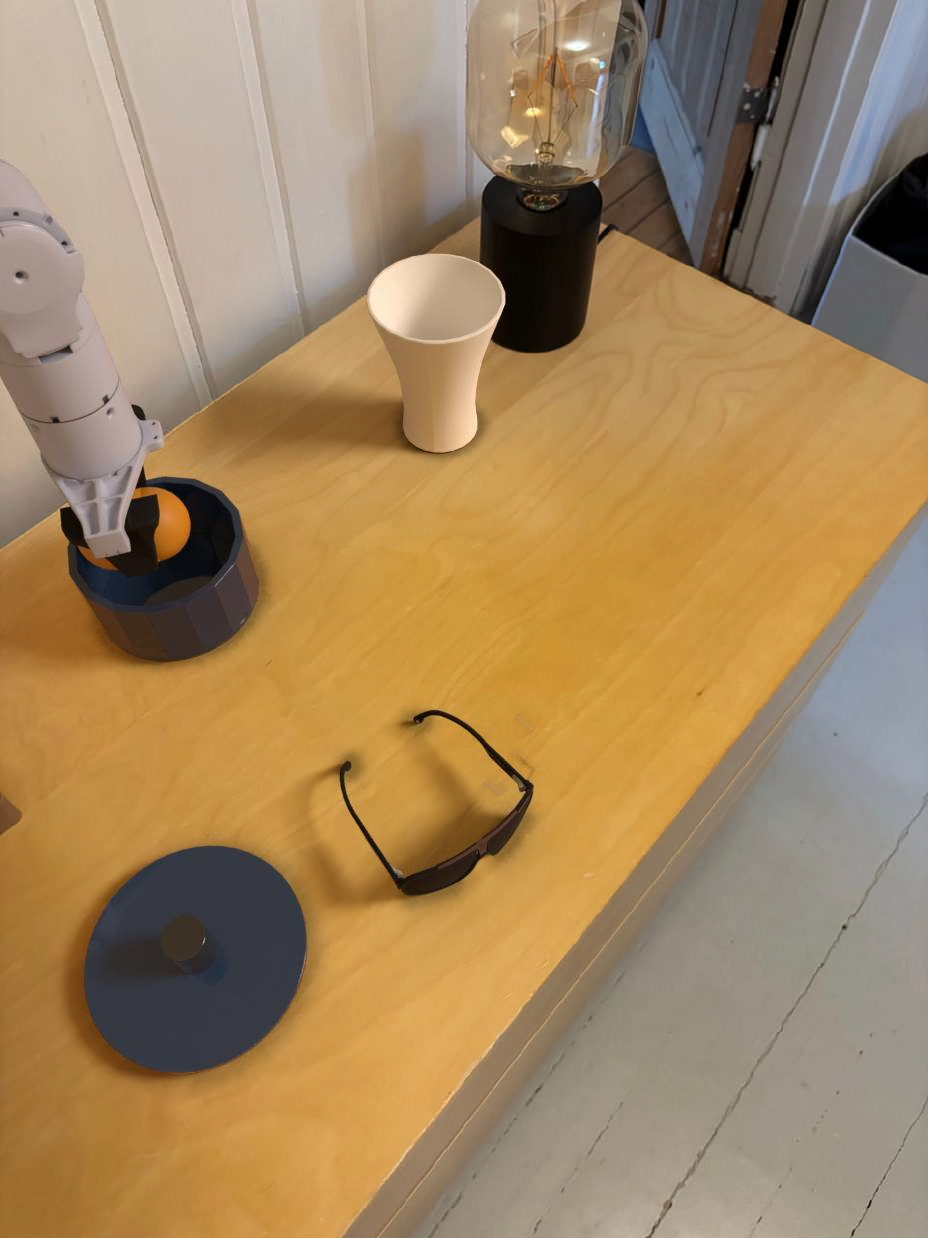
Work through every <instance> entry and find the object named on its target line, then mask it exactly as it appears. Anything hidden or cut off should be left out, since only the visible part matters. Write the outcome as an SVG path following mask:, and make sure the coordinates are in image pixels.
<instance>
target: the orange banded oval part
mask: <svg viewBox="0 0 928 1238" xmlns="http://www.w3.org/2000/svg"><path fill="white" fill-rule="evenodd" d="M154 494H157V497H158V503H159V510H160V518H159V525H158V527H157V529H156V531H155V535H154V540H155V545H156V551H157V557H158V562H160V561H163V560H166V559H169V558H171V557H173V556H174V555H176V554H177V553H178V552H179V551H180V550H181V549H182V548H183V547H184V545H185V544H186V542H187V540H188V538H189V534H190V518H189V514H188V511H187V509H186V507H185V506H184V504H183V503H182V502H181V501H180V499H179V498H178V497H176V496H175V495H174V494H172V493H171V492H168V491H166V490H164V489H160V488H157V487H143V488H138V489H135V490H134V493H133V496H132V499H135V498H140V497H144V496H149V495H154ZM78 548H79V550H80V551H81V553H82V554H83V555H84V556H85V558H86V559H87V560H89V561H90V562H91V563H93V564H94V565H96V566H99V567H101V568H104V569H108V570H118V569H117V568H116V567H115V566H113V565H112V564H111V563H110V562H109V561H108V560H107V559H105V558H99V559H95V557H94V555H93V553H92V552H91V550H90V549H87V548H84V547H81V546H78Z"/></svg>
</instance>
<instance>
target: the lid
mask: <svg viewBox="0 0 928 1238" xmlns="http://www.w3.org/2000/svg"><path fill="white" fill-rule="evenodd" d="M304 915H305V914H304V912H303V908H302V906H301V904H300V901H299V899H298V897H297V894H296V892H294V890H293V888H292V886H291V885H290V883H289V881H287V880H286V878H285V877H284V876H283V874H282V873H281V872H279V870H277V869H276V868H275V867H274V866H273V865H272V864H271V863H269V862H267V861H266V860H264V859H263V858H262V857H260V856H258V855H256V854H253V853H252V852H249V851H245V850H243V849H241V848H236V847H231V846H225V845H201V846H193V847H189V848H184V849H180V850H177V851H174V852H171V853H169V854H167V855H165V856H161V857H160V858H158V859H156V860H154V861H153V862H150V863H149V864H148V865H146V866H144V867H142V868H141V869H140V870H139V871H138V872H136V873H135V874H134V875H133V876H131V877H130V878H129V879H128V880H127V881H126V882H125V883H124V884H123V885H122V886H121V887H120V888H119V889H117V891H116V893H115V894H114V895H113V896H112V897H111V898H110V900H109V901H108V903H107V904H106V906H105V907H104V909H103V910H102V911H101V913H100V915H99V917H98V919H97V921H96V923H95V925H94V928H93V930H92V933H91V935H90V938H89V941H88V945H87V948H86V953H85V959H84V966H83V987H84V995H85V996H84V997H85V1001H86V1004H87V1009H88V1012H89V1015H90V1016H91V1019H92V1021H93V1023H94V1025H95V1027H96V1029H97V1030H98V1032H99V1033H100V1035H101V1036H102V1038H103V1039H104V1040H105V1041H106V1042H107V1044H108V1045H109V1046H110V1047H111V1048H112V1049H113V1050H114V1051H115V1052H117V1053H118V1054H119V1055H121V1056H122V1057H123V1058H125V1059H126V1060H128V1061H129V1062H132V1063H133V1064H135V1065H137V1066H139V1067H141V1068H144V1069H147V1070H150V1071H153V1072H158V1073H163V1074H169V1075H170V1074H174V1075H188V1074H197V1073H198V1074H199V1073H202V1072H206V1071H211V1070H215V1069H217V1068H219V1067H222V1066H225V1065H227V1064H230V1063H232V1062H233V1061H235V1060H237V1059H239V1058H240V1057H242V1056H244V1055H246V1054H248V1052H250V1051H251V1050H252V1049H254V1048H256V1047H257V1046H258V1045H259V1044H260V1043H261V1042H262V1041H264V1040H265V1038H266V1037H268V1036H269V1035H270V1034H271V1033H272V1031H273V1030H274V1029H275V1028H276V1027H277V1026H278V1025H279V1023H280V1022H281V1021H282V1020H283V1018H284V1017H285V1015H286V1014H287V1012H288V1011H289V1009H290V1008H291V1005H292V1003H293V1001H294V1000H295V998H296V996H297V993H298V991H299V989H300V986H301V983H302V980H303V976H304V973H305V969H306V964H307V955H308V931H307V923H306V920H305V919H306V918H305V916H304Z"/></svg>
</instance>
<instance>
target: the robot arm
mask: <svg viewBox="0 0 928 1238" xmlns="http://www.w3.org/2000/svg"><path fill="white" fill-rule="evenodd" d="M85 267H86V266H85V260H84V257H83V253H82V252H81V250H77V249H76V248H75V246H74V244H73V242H72V240H71V238H70V236H69V235H68V233H67V232H66V230H65V229H64V227H63V225H62V224H61V223H60V221H59V220H58V219H57V217H56V215H55V214H54V213H53V211H52V209H51V208H50V207H49V205H48V204H47V202H46V201H45V199H44V198H43V196H42V195H41V193H40V191H39V190H38V188H36V185H34V183H33V182H32V181H31V180H30V179H29V178H28V177H27V176H26V174H24V173H23V171H22V170H20V169H19V167H17V166H15V165H14V164H13V163H11V162H10V161H8V160H6V159H4V158H2V157H0V380H1V381H2V383H3V385H4V387H5V388H6V390H7V392H8V394H9V396H10V398H11V399H12V401H13V404H14V405H15V408H16V409H17V412H18V414H19V415H20V417H21V419H22V421H23V422H24V424H25V426H26V427H27V430H28V432H29V434H30V435H31V437H32V439H33V441H34V442H35V444H36V446H37V448H38V450H39V452H40V453H39V456H40V460H41V463H42V465H43V467H44V468H45V470H46V473H47V474H48V476H49V477H50V479H51V480H52V482H53V483H54V485H55V486H56V487H57V489H58V490H59V492H60V494H61V495H62V496H63V498H64V500H65V501H66V503H67V504H68V506H65V507H60V508H59V514H60V515H59V517H60V528H61V531H62V533H63V535H64V537H65V538H66V539H67V541H68V543H69V542H70V543H71V544H73V545H76V546H81V547H84V548H87V549H90V550H91V552H92V553H93V555H94V557H95V559H99V558H105V559H107V560H108V561H109V562H110V563H111V564H112V565H113V566H115V567H116V568H117V569H118V570H119V571H120V572H121V573H123V574H124V575H125V576H126V577H128V578H131V577H135V576H140V575H144V574H149V573H153V572H156V571H157V570H158V557H157V551H156V545H155V540H154V535H155V531H156V529H157V527H158V525H159V518H160V510H159V503H158V497H157V494H154V495H149V496H144V497H140V498H135V499H132V496H133V493H134V490H135V489H138V488H143V487H147V482H146V480H147V478H146V471H145V466H144V463H145V461H146V457H147V455H148V454H150V453H151V452H155V451H159V450H161V449H163V448H164V447H165V444H166V443H165V442H166V441H165V437H164V431H163V430H164V429H163V427H162V424H161V421H159V420H157V419H154V418H153V419H151V418H150V419H147V418H146V417H147V416H146V414H145V412H144V408H142V407H141V406H139V405H138V404H133V403H132V404H131V401H130V399H129V396H128V394H127V392H126V389H125V387H124V385H123V382H122V380H121V377H120V375H119V372H118V369H117V366H116V364H115V362H114V360H113V356H112V354H111V351H110V349H109V346H108V344H107V341H106V340H105V337H104V334H103V331H102V329H101V326H100V325H99V322H98V319H97V316H96V314H95V311H94V309H93V307H92V305H91V303H90V301H89V300H88V298H87V297H86V296H85V295H84V294H83V286H84V282H85V274H86V273H85V272H86V269H85Z"/></svg>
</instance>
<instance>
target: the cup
mask: <svg viewBox="0 0 928 1238" xmlns="http://www.w3.org/2000/svg"><path fill="white" fill-rule="evenodd" d="M365 304H366V307H367V310H368V314H369V316H370V318H371V320H372V322H373V324H374V326H375V327H376V329H377V332H378V333H379V335H380V338H381V340H382V342H383V344H384V346H385V348H386V350H387V352H388V354H389V356H390V358H391V360H392V363H393V365H394V368H395V370H396V374H397V377H398V380H399V384H400V390H401V396H402V403H403V416H402V417H403V418H402V430H403V434H404V436H405V437H406V439H407V440H408V441H409V442H410V443H411V444H412V445H414V447H416V448H419V449H421V450H423V451H425V452H431V453H447V452H453V451H456V450H458V449H461V448H463V447H465V446H466V445H468V444H469V443H470V442H471V441H472V440H473V439H474V437H475V436H476V433H477V430H478V416H477V408H476V407H477V406H476V397H477V396H476V395H477V386H478V385H477V384H478V381H479V380H478V379H479V376H480V371H481V367H482V362H483V360H484V357H485V354H486V352H487V349H488V346H489V344H490V341H491V339H492V337H493V334H494V331H495V329H496V327H497V324H498V322H499V321H500V318H501V315H502V312H503V310H504V307H505V305H506V291H505V289H504V287H503V284H502V282H501V280H500V278H498V277H497V275H496V274H495V273H494V272H493V270H491V269H490V268H488V267H486V266H485V265H483V264H482V263H480V262H479V261H475V260H473V259H471V258H468V257H466V256H461V255H457V254H449V253H425V254H418V255H413V256H410V257H409V256H408V257H407V258H403V259H401V260H397V261H396V262H394V263H392V264H390V265H389V266H387V267H386V268H383V270H381V272H379V273H378V274H377V275H376V276H375V277H374V278H373V280H372V281H371V284H370V285H369V287H368V289H367V292H366V299H365Z"/></svg>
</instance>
